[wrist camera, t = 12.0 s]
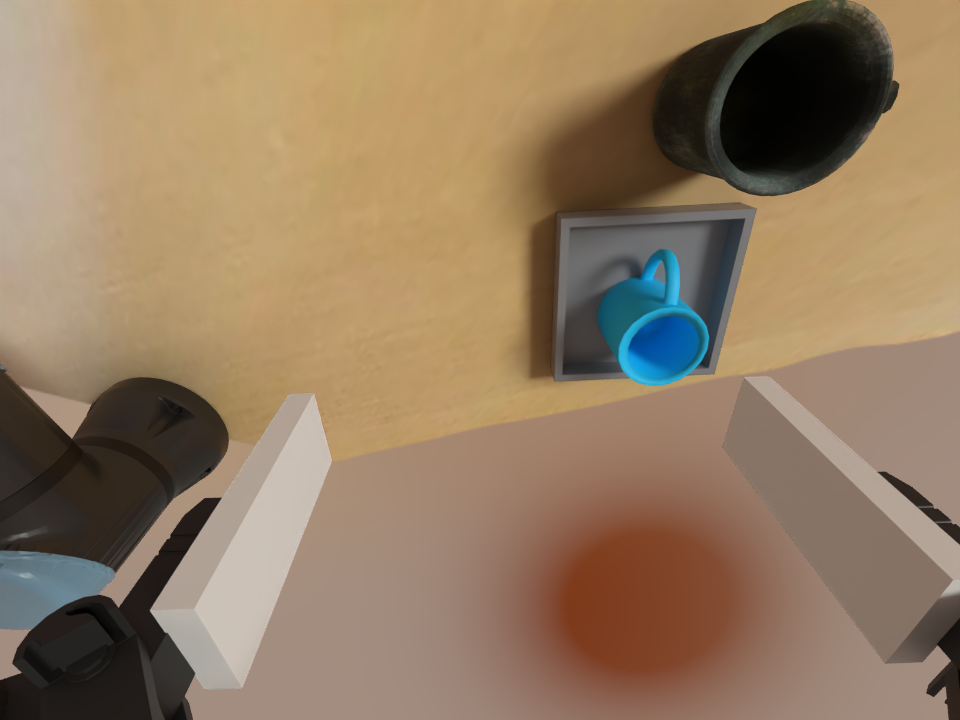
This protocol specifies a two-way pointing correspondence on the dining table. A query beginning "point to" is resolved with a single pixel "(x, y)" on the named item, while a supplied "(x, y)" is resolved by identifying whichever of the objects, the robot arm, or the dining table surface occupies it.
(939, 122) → the dining table surface
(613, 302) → the mug
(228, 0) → the dining table surface
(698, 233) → the tray
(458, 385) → the dining table surface
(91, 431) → the robot arm
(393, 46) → the dining table surface
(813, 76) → the mug
